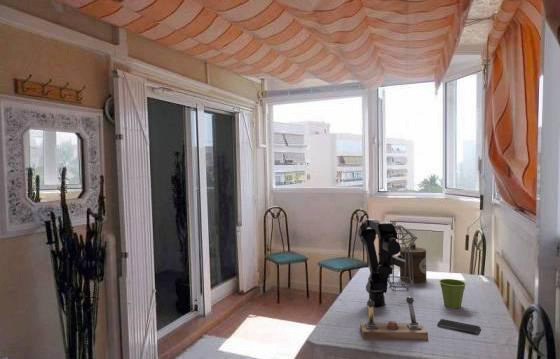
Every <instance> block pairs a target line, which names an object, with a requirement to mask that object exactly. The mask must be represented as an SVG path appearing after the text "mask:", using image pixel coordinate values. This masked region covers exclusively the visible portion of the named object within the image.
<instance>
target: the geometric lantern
mask: <svg viewBox="0 0 560 359" xmlns="http://www.w3.org/2000/svg"><path fill="white" fill-rule="evenodd" d="M394 227H395V229H396V232H397V238H395V239H396V242H398V243H399V244H400V245H404V246H400V247H401V248H405V277H400V276H397V275H396V276H394V274H395V269H394V266H395V265H393V266H392V268H393V270H392V276H391V274H389V277H388V282H387V283H388V285H389V288H390V289H391V290H392V291H393V292H408V291H409V287H411V286H412V285H414V284H415V283H414V280H413V261H412V250H410V249H409V247H410V244H411V243H412V247H413V243H415V241H416V240H417V239H418V236H416V235H415V234H413V233H412V232H411V231H409V230H408V229H406V228H405V227H404V226H403V225H400V224H399V225H394ZM403 231H404V232H403ZM407 235H409V236H410V238H408V237H407V238H405V237H406V236H407ZM406 240H407V241H406ZM399 241H402V242H401V243H400V242H399ZM405 241H406V242H405ZM408 243H409V244H408ZM406 244H408V246H407V245H406ZM407 247H408V248H407ZM406 249H407V251H408V266H409V278H408V277H406ZM409 250H410V252H411V262H412V280H411V272H410V252H409ZM393 256H395V255H393ZM390 278H392V281H391V279H390ZM395 278H399V279H400V278H404V279H405V278H408V280H409V279H410V283H408V282H407V281H408V280H407V281H406V282H404V280H403V281H398V282H397V281H395ZM412 281H413V282H412ZM411 282H412V283H411ZM397 288H399V289H397ZM400 288H402V289H400ZM404 288H405V289H404Z"/></svg>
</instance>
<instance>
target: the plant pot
mask: <svg viewBox="0 0 560 359" xmlns="http://www.w3.org/2000/svg"><path fill="white" fill-rule="evenodd" d="M438 283H439V284H440V288H441V294H442V299H443V305H444V306H446V307H447V308H452V309H456V308H458V309H460V308H461V307H462V304H463V296H464V291H465V288H466V286H467V283H466V282H465V281H463V280H459V279H453V278H441V279H439V280H438Z"/></svg>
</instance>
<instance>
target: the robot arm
mask: <svg viewBox="0 0 560 359" xmlns="http://www.w3.org/2000/svg"><path fill="white" fill-rule="evenodd" d="M396 231H397V230H396V229H395V224H393V222H391V221H380V220H378V219H376V218H367V219H365V220H364V222H363V223H362V224H361V225H360V226H359V227H358V231H357V233H358V237H359V239H360V242H361V243H362V244H363V245H364V248H365V253H366V257H367V258H366V259H367V264H368V267H369V269H368V270H369V277H368V279H367V283H366V285H365V290H366V292H367V293H368V300H373V301H374V306H373V308H378V309H379V308H381V307H384V306H386V305H387V303H386V302H385V295H384V294H387V292H388V287H389V286H388V285H389V283H388V279H389V278H388V277H389V274H390V275H393V265H394V266H396V267H399V269H400V268H402V269H403V267H404V265H405V260H404V259H403V257H402V255H400V250H401V247H402V246H401V244H399V243H400V242H399V243H398V241H397V239H395V238H398V234H397V233H398V232H396ZM376 239H377V240H378V241H377V242H378V253H377V250H376V245H375V241H376ZM396 241H397V242H396ZM377 254H378V255H377ZM393 255H394V256H393Z"/></svg>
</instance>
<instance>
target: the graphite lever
mask: <svg viewBox="0 0 560 359" xmlns="http://www.w3.org/2000/svg"><path fill="white" fill-rule="evenodd" d="M405 301H406V303H407V305H408V306H407V307H408V311H409V315H410V322H409V323H410V325H418V323H419V322H417V320H416V314H415V307H414V298H413V296H407V297H406V299H405Z"/></svg>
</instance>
